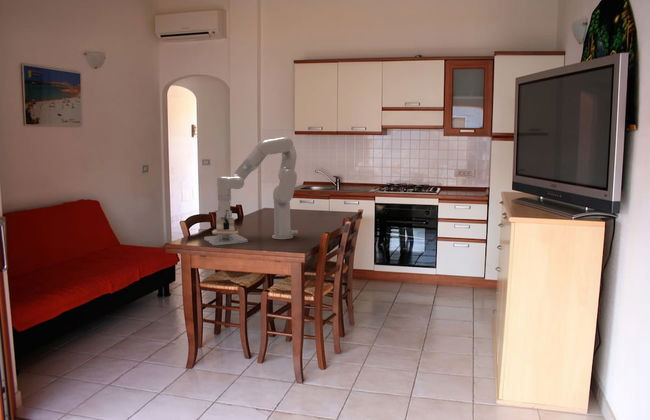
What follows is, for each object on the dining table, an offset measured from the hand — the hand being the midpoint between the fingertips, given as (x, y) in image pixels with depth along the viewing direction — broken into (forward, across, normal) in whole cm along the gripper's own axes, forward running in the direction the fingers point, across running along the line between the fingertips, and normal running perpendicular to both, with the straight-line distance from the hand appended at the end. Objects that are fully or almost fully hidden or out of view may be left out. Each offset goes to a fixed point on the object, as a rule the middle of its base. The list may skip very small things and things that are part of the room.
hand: (224, 228), depth 326 cm
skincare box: (+8, -18, +5) cm, 20 cm away
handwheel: (+6, 0, 0) cm, 6 cm away
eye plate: (+7, 0, 0) cm, 7 cm away
